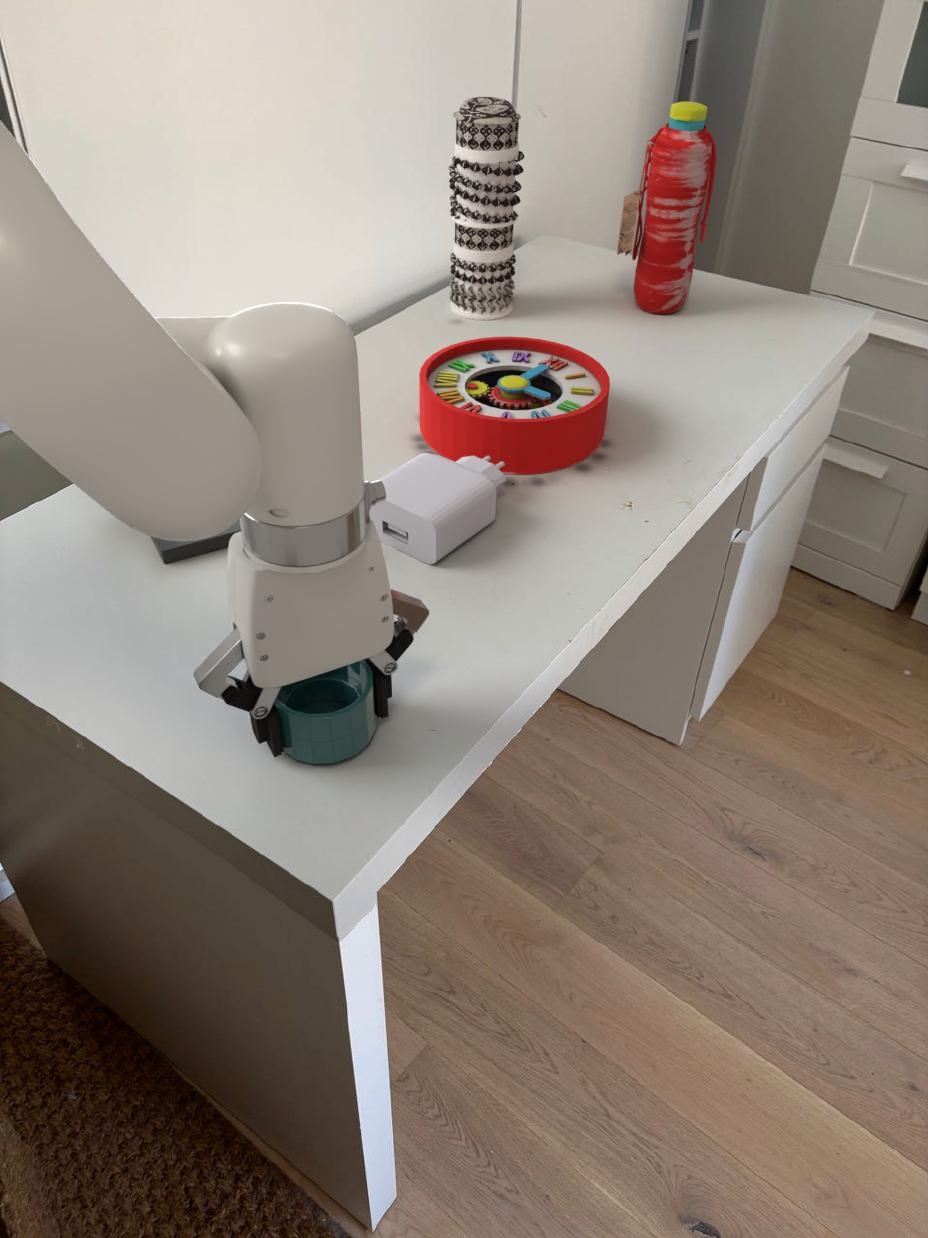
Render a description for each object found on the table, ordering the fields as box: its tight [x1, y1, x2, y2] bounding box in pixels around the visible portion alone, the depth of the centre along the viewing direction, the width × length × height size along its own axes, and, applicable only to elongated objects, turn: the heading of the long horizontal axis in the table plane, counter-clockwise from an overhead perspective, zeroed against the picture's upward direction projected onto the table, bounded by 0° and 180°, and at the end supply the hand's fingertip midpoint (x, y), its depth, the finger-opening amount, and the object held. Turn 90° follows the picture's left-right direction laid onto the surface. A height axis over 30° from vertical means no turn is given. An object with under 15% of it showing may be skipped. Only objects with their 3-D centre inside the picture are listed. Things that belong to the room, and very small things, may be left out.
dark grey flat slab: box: [150, 520, 241, 565], centre depth 90 cm, size 15×12×3 cm
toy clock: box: [418, 336, 611, 475], centre depth 103 cm, size 20×6×20 cm
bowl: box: [273, 659, 376, 765], centre depth 68 cm, size 7×7×5 cm
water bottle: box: [616, 101, 717, 315], centre depth 124 cm, size 12×8×25 cm, turn 62°
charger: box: [369, 452, 507, 565], centre depth 90 cm, size 5×9×15 cm
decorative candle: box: [448, 96, 525, 321], centre depth 122 cm, size 9×9×25 cm
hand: (324, 722), depth 69 cm, fingers closed on bowl, 7 cm apart
